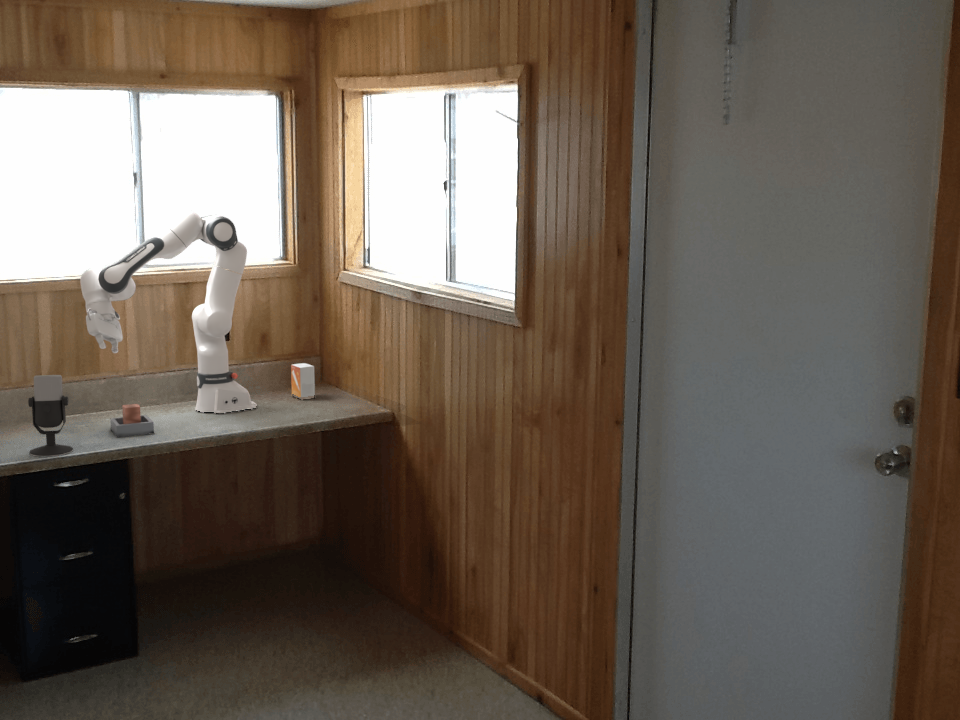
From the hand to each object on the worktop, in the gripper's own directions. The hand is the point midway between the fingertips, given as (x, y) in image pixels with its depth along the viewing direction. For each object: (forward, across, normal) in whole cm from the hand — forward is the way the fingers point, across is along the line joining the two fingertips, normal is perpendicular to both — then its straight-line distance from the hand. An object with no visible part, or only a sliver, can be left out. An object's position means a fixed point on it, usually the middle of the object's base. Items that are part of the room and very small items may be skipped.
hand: (109, 350), depth 397 cm
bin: (+30, -2, -2) cm, 31 cm away
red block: (+30, -2, -2) cm, 30 cm away
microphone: (+35, -30, +14) cm, 48 cm away
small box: (+26, +57, -48) cm, 79 cm away
